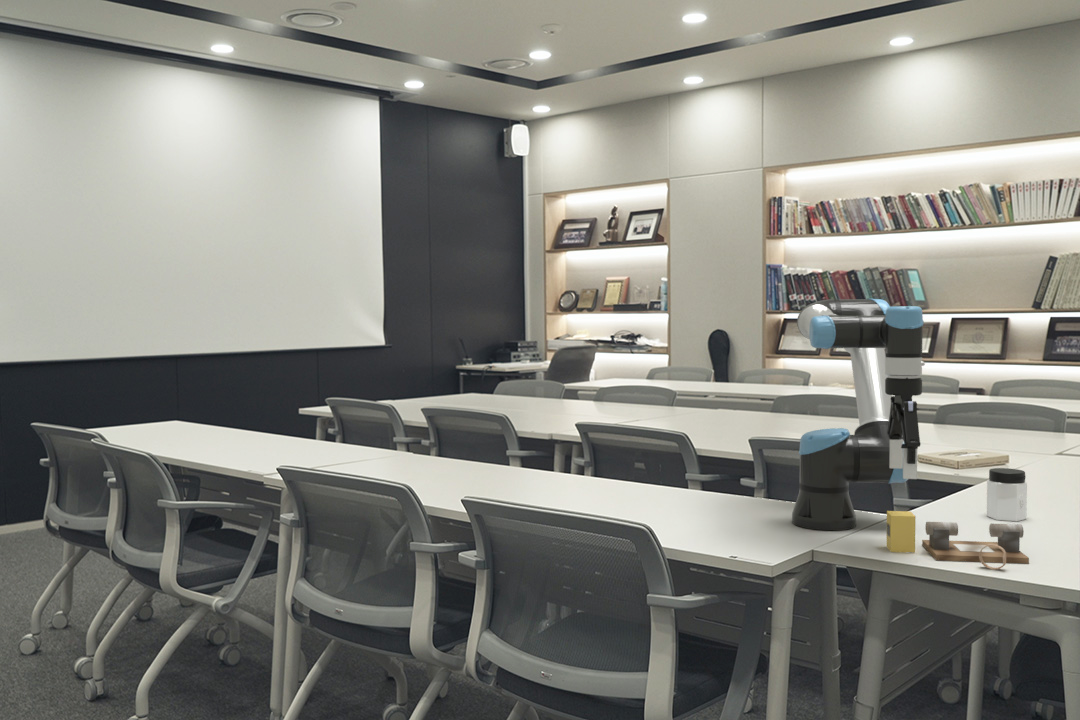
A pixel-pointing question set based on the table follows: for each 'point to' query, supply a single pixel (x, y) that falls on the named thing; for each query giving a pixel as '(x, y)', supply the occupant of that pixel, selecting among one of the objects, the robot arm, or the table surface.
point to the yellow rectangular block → (900, 531)
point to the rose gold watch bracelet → (986, 564)
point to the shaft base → (974, 544)
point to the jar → (1007, 494)
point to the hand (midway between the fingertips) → (902, 473)
